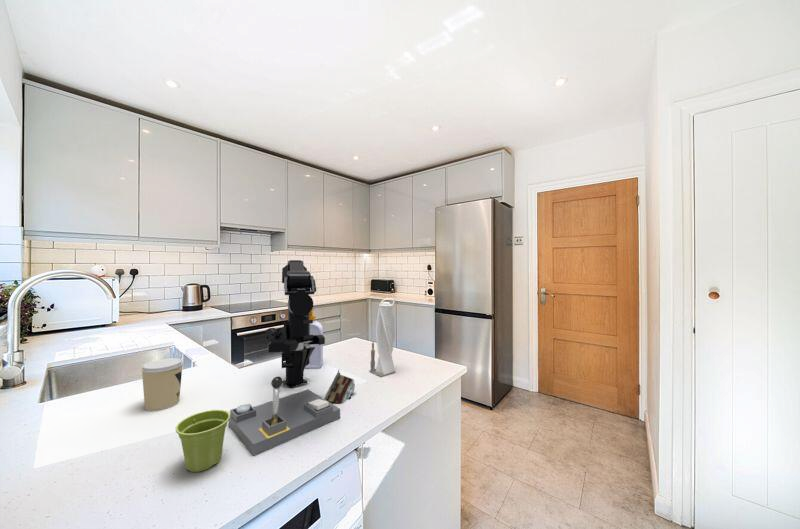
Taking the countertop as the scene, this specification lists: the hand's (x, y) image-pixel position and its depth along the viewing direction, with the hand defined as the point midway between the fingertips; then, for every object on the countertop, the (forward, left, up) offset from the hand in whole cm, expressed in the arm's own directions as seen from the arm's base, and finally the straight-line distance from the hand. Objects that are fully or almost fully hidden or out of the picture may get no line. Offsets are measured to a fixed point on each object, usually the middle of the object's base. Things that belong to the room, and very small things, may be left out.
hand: (299, 375), depth 80 cm
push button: (-6, -12, -8) cm, 16 cm away
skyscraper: (-8, +38, -11) cm, 41 cm away
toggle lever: (+6, -9, -7) cm, 13 cm away
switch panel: (0, -4, -11) cm, 12 cm away
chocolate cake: (-2, +15, -11) cm, 19 cm away
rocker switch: (+5, +3, -7) cm, 9 cm away
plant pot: (+3, -23, -11) cm, 25 cm away
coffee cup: (-34, -25, -11) cm, 43 cm away
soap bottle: (-33, +21, -11) cm, 41 cm away
